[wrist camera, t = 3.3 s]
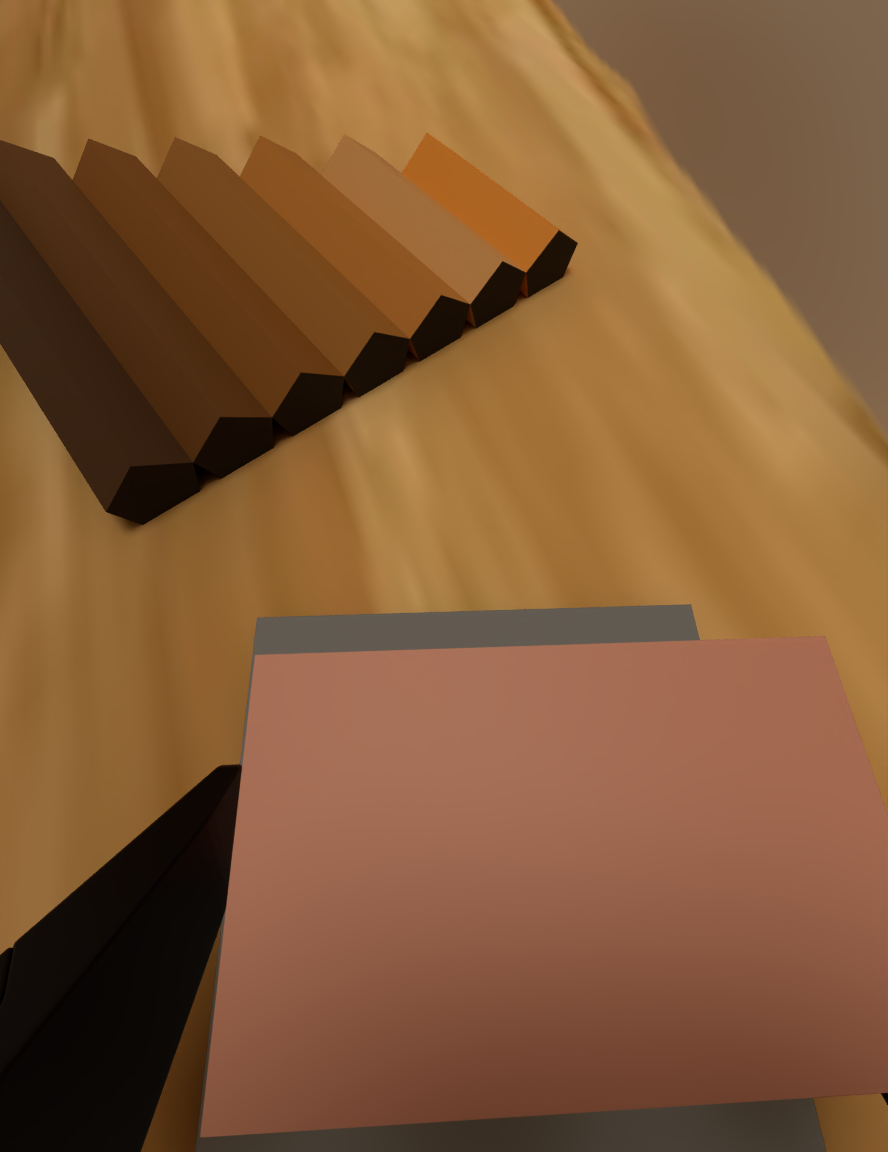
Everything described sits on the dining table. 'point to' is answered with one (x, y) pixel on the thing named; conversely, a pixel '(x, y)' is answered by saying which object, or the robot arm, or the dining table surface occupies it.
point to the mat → (546, 1142)
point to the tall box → (549, 886)
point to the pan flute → (240, 295)
